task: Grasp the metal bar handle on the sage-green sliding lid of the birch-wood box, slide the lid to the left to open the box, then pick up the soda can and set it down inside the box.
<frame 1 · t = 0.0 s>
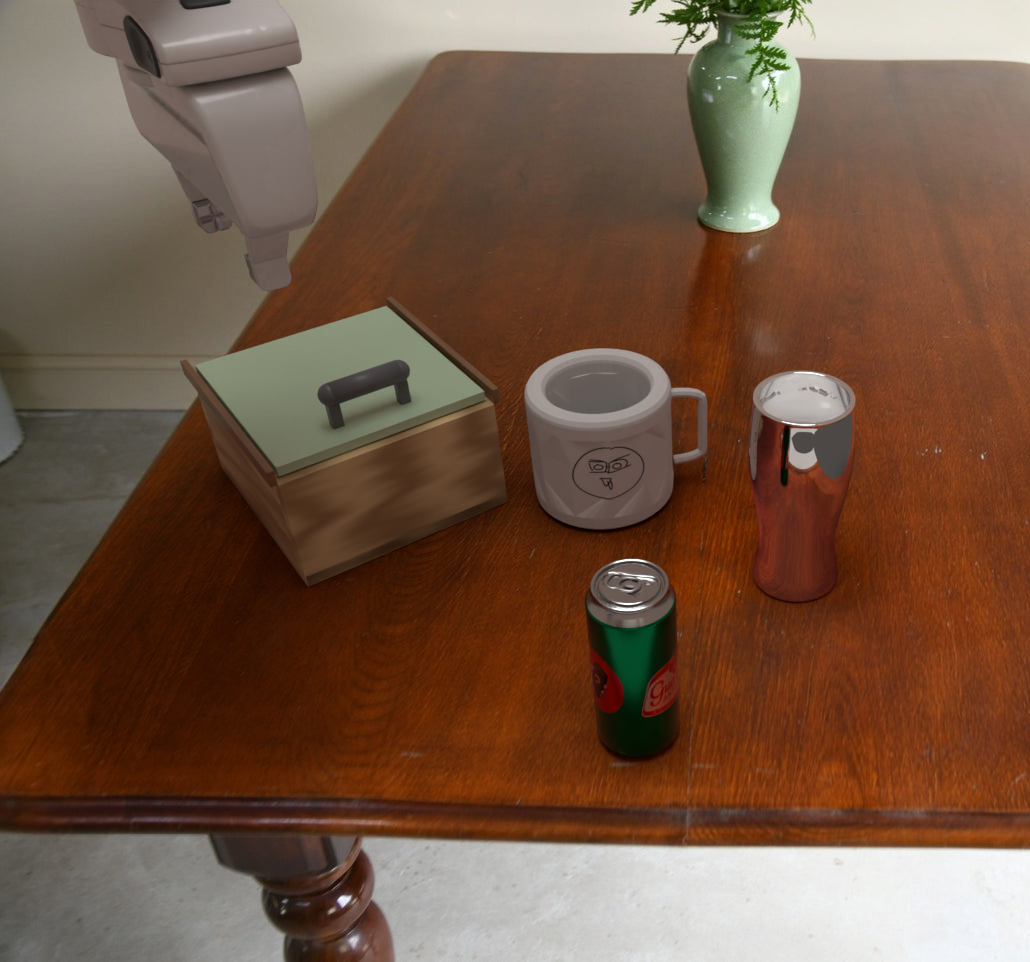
hand: (242, 254, 65), 25 cm above the table, tool pointing down, fingers open, 8 cm apart
mug: (623, 490, 89), on the table
slide lid: (333, 362, 82), point 11 cm above the table, slide at 0.0 cm
box: (362, 484, 89), on the table
beer glass: (794, 576, 81), on the table
soda can: (638, 731, 69), on the table
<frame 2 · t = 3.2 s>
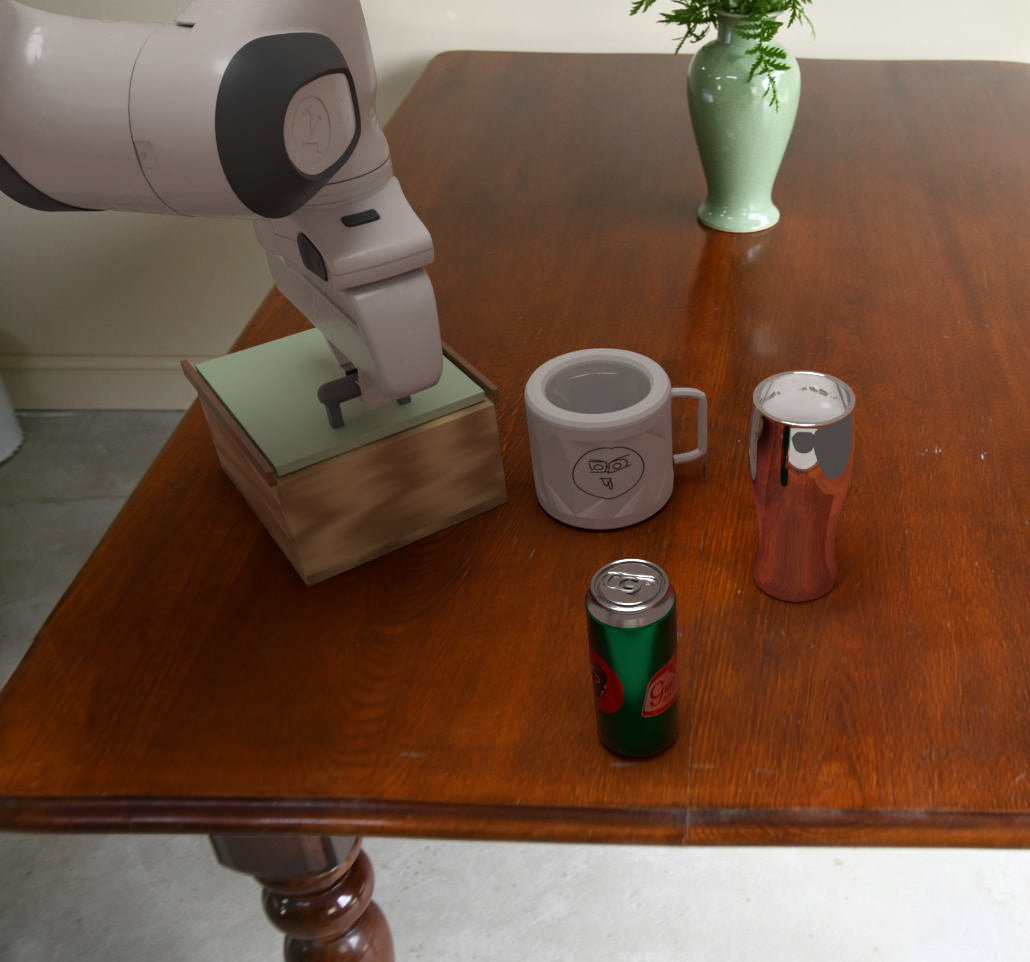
hand: (366, 393, 78), 12 cm above the table, tool pointing down, fingers closed on slide lid, 2 cm apart
slide lid: (333, 362, 82), point 11 cm above the table, slide at 0.0 cm, touching gripper
everything else where it was.
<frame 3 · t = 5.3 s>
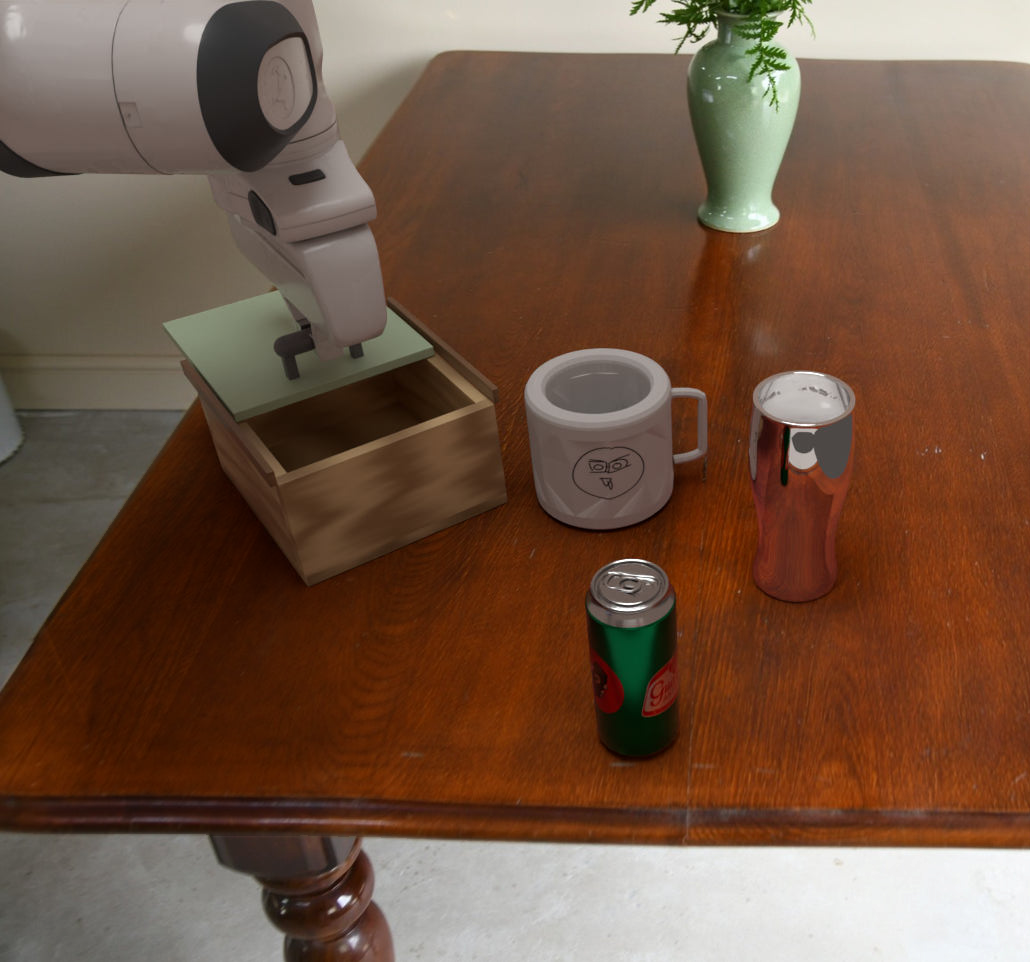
hand: (321, 347, 84), 11 cm above the table, tool pointing down, fingers closed on slide lid, 2 cm apart
slide lid: (291, 320, 88), point 11 cm above the table, slide at 8.2 cm, touching gripper
everything else where it was.
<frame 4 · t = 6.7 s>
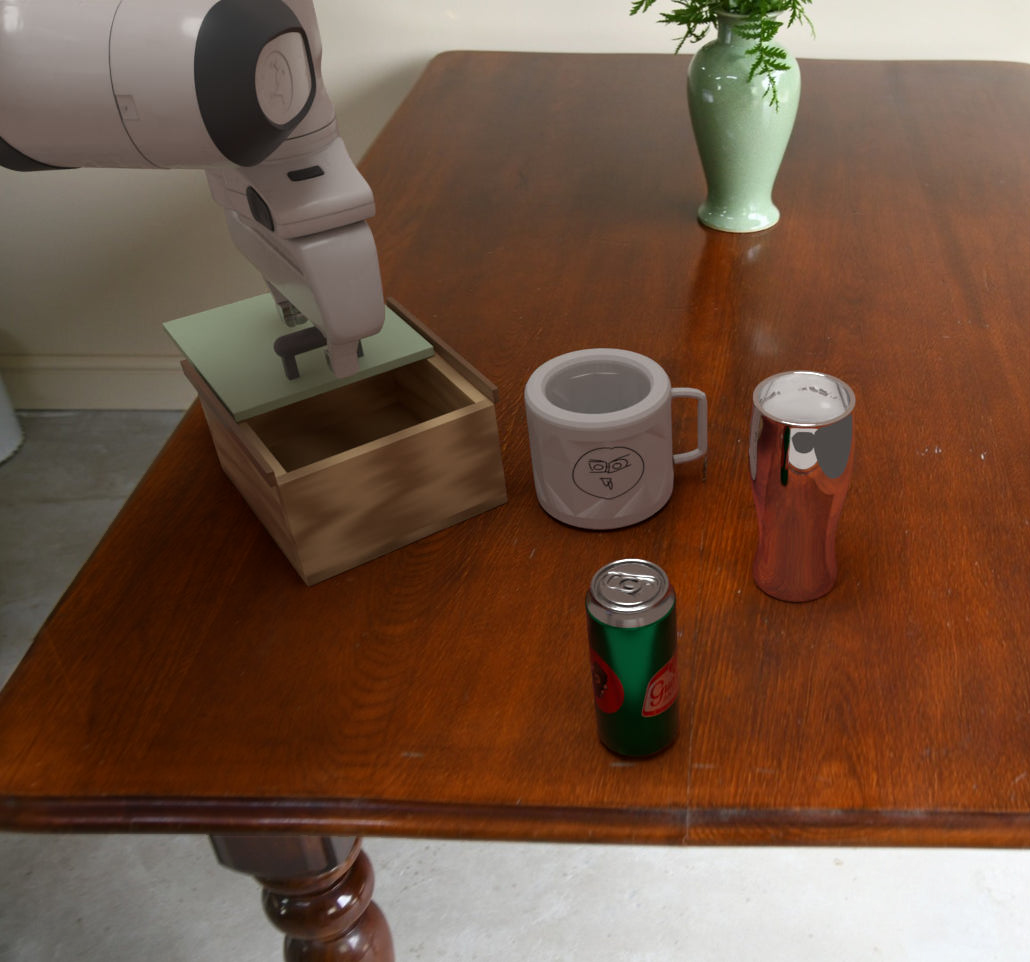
hand: (318, 346, 83), 12 cm above the table, tool pointing down, fingers open, 8 cm apart
slide lid: (291, 320, 88), point 11 cm above the table, slide at 8.2 cm
everything else where it was.
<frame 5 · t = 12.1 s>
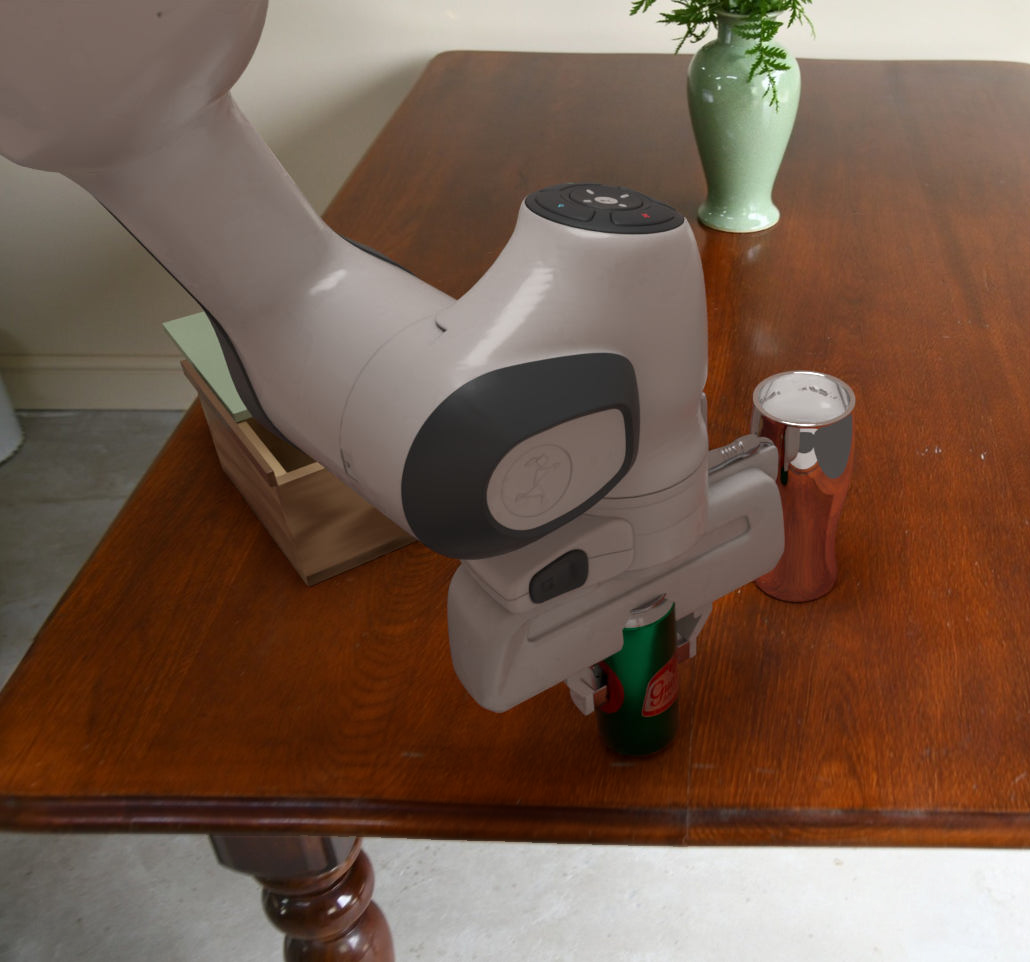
hand: (634, 679, 66), 5 cm above the table, tool pointing down, fingers closed on soda can, 5 cm apart
soda can: (639, 731, 69), on the table, touching gripper
everything else where it was.
when the fingers open (5 cm above the table, at t = 20.1 s): soda can stays where it is, resting on box.
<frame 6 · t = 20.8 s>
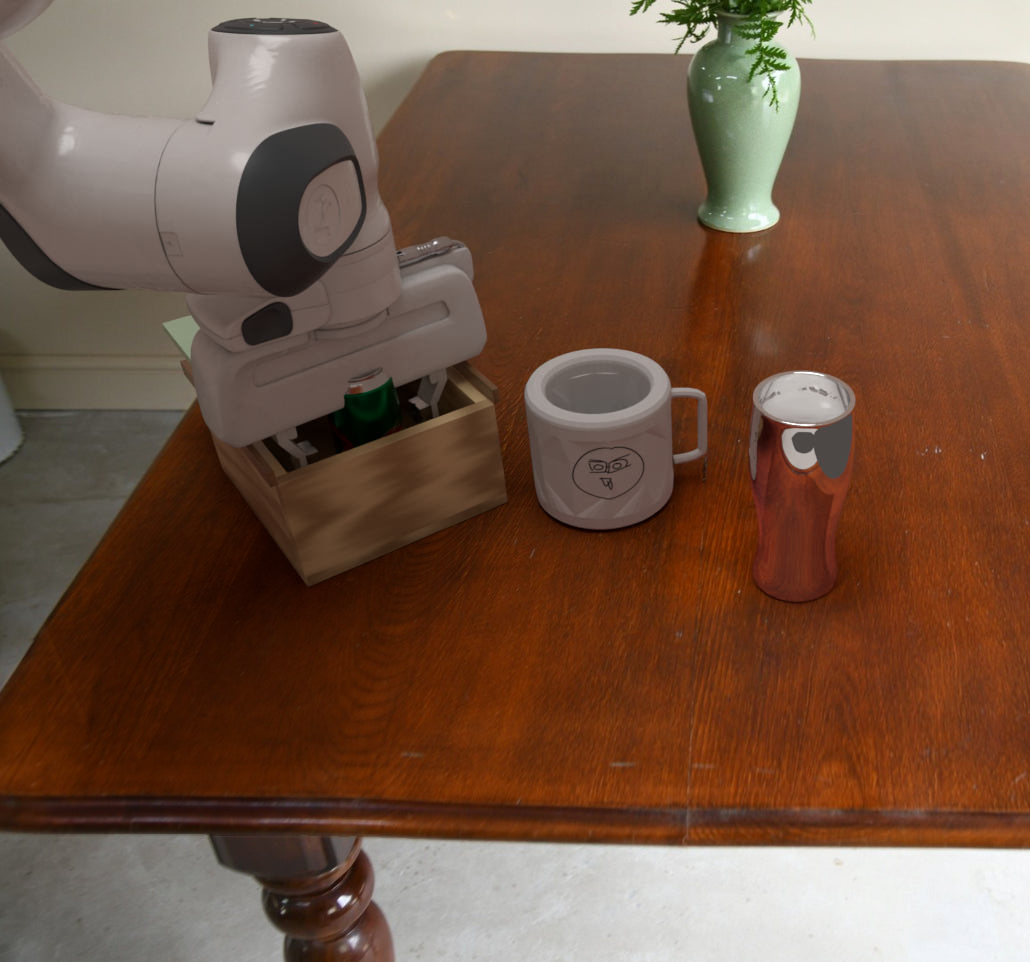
hand: (369, 444, 83), 6 cm above the table, tool pointing down, fingers open, 8 cm apart
soda can: (384, 502, 86), point 1 cm above the table, touching box
everything else where it was.
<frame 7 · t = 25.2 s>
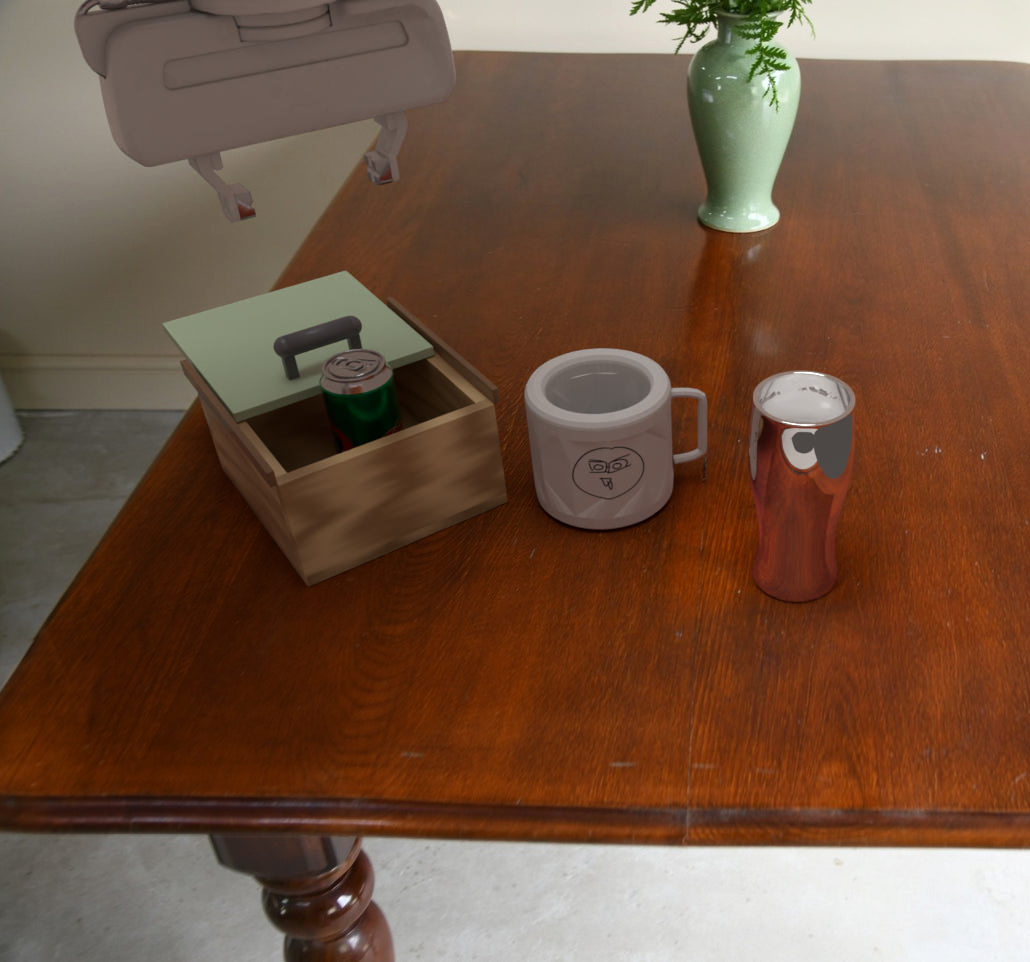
hand: (314, 198, 71), 25 cm above the table, tool pointing down, fingers open, 8 cm apart
nothing on the table moved.
at the end: slide lid slide at 8.2 cm; soda can inside the target area on the box (0.9 cm from its centre), point 0.8 cm above the box's base; soda can tilted 0° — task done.
